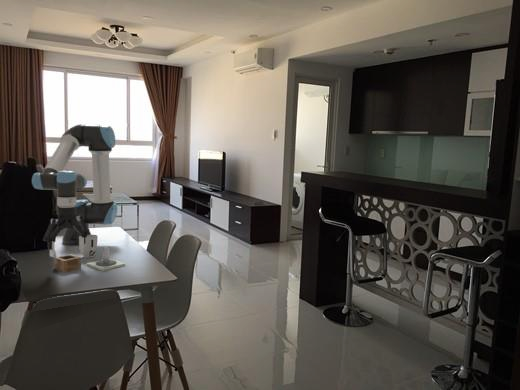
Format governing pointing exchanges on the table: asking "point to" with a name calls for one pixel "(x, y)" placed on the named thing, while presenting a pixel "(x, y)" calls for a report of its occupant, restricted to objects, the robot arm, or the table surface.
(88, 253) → the cup
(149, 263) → the table surface
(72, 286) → the table surface
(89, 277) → the table surface
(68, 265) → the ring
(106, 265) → the peg stand
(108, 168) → the robot arm
